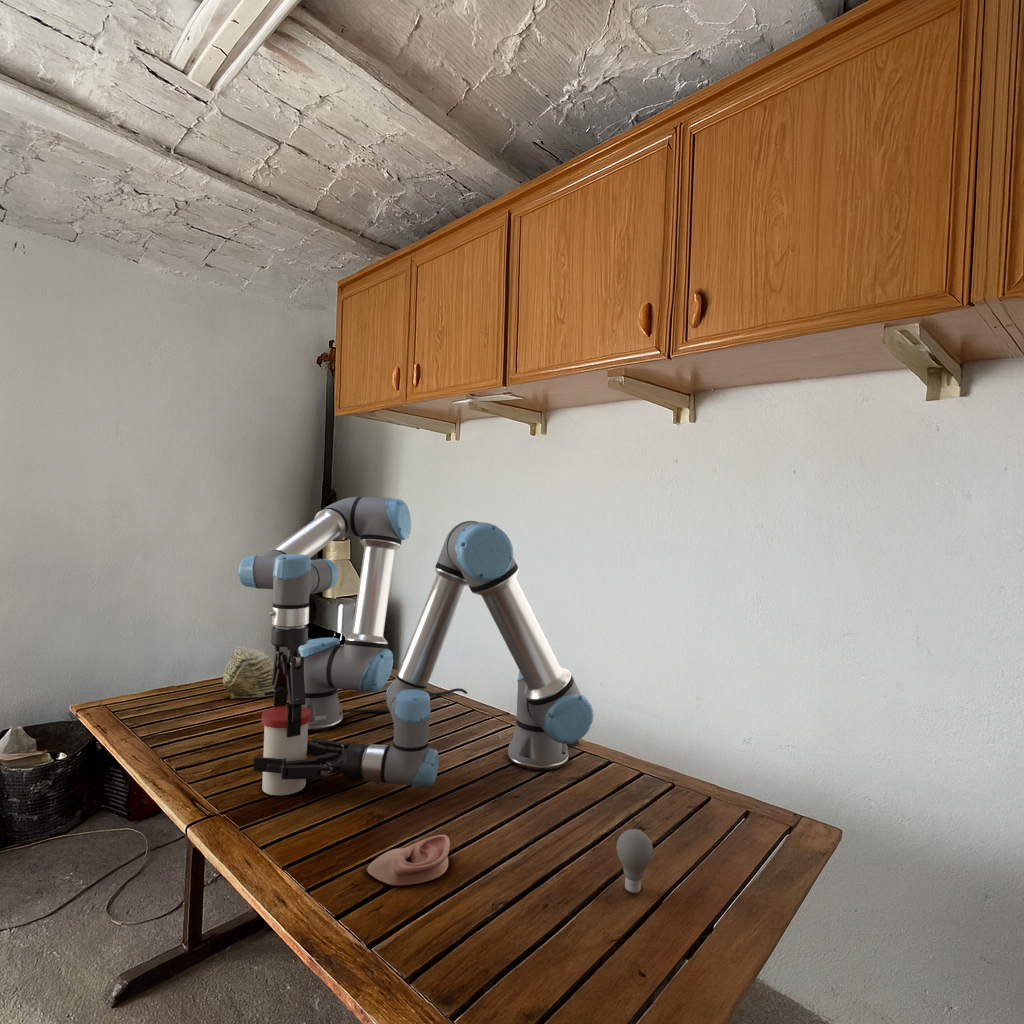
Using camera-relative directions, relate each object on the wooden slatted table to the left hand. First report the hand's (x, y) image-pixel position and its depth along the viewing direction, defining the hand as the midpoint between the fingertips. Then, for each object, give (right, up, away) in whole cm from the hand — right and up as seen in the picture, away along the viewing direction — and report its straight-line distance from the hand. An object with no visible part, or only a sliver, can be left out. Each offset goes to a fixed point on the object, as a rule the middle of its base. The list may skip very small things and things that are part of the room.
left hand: (286, 727), depth 138 cm
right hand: (-5, -6, +1) cm, 8 cm away
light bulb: (+69, -16, -32) cm, 78 cm away
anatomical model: (+31, -15, -28) cm, 45 cm away
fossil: (-32, -10, +60) cm, 69 cm away
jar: (-1, -13, 0) cm, 13 cm away
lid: (0, +3, 0) cm, 3 cm away
